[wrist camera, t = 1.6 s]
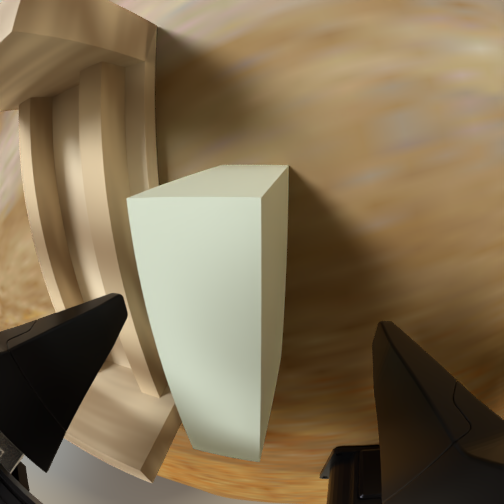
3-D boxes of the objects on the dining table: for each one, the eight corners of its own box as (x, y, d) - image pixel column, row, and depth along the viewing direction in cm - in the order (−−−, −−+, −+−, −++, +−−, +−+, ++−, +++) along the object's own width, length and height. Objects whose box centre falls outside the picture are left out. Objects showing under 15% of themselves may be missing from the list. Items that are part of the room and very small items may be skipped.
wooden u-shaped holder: (194, 393, 16) (152, 483, 9) (99, 365, 17) (49, 428, 11) (157, 25, 8) (30, -27, 2) (43, 76, 9) (-57, 82, 3)
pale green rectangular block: (281, 356, 13) (259, 462, 8) (218, 348, 14) (175, 443, 8) (288, 165, 10) (261, 198, 4) (203, 165, 10) (98, 200, 5)
